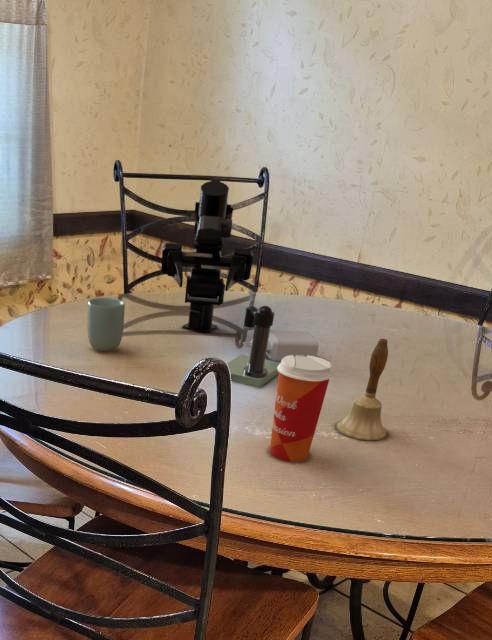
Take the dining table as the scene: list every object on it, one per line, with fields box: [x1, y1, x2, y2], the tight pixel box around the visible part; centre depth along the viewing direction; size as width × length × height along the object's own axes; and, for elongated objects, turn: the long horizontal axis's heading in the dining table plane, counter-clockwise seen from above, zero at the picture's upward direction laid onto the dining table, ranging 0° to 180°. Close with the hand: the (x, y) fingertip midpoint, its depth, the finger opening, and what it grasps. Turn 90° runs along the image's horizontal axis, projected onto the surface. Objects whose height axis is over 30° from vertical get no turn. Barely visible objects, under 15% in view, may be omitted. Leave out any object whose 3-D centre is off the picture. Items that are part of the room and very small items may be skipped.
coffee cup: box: [269, 355, 334, 463], centre depth 110 cm, size 8×8×15 cm
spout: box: [242, 305, 275, 331], centre depth 139 cm, size 9×4×6 cm, turn 12°
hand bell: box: [336, 338, 389, 442], centre depth 119 cm, size 8×8×16 cm
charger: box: [242, 330, 320, 363], centre depth 155 cm, size 5×9×15 cm
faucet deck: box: [227, 325, 281, 388], centre depth 143 cm, size 13×10×11 cm
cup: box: [86, 297, 126, 352], centre depth 153 cm, size 8×8×10 cm
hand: (203, 287), depth 145 cm, fingers open, 9 cm apart
